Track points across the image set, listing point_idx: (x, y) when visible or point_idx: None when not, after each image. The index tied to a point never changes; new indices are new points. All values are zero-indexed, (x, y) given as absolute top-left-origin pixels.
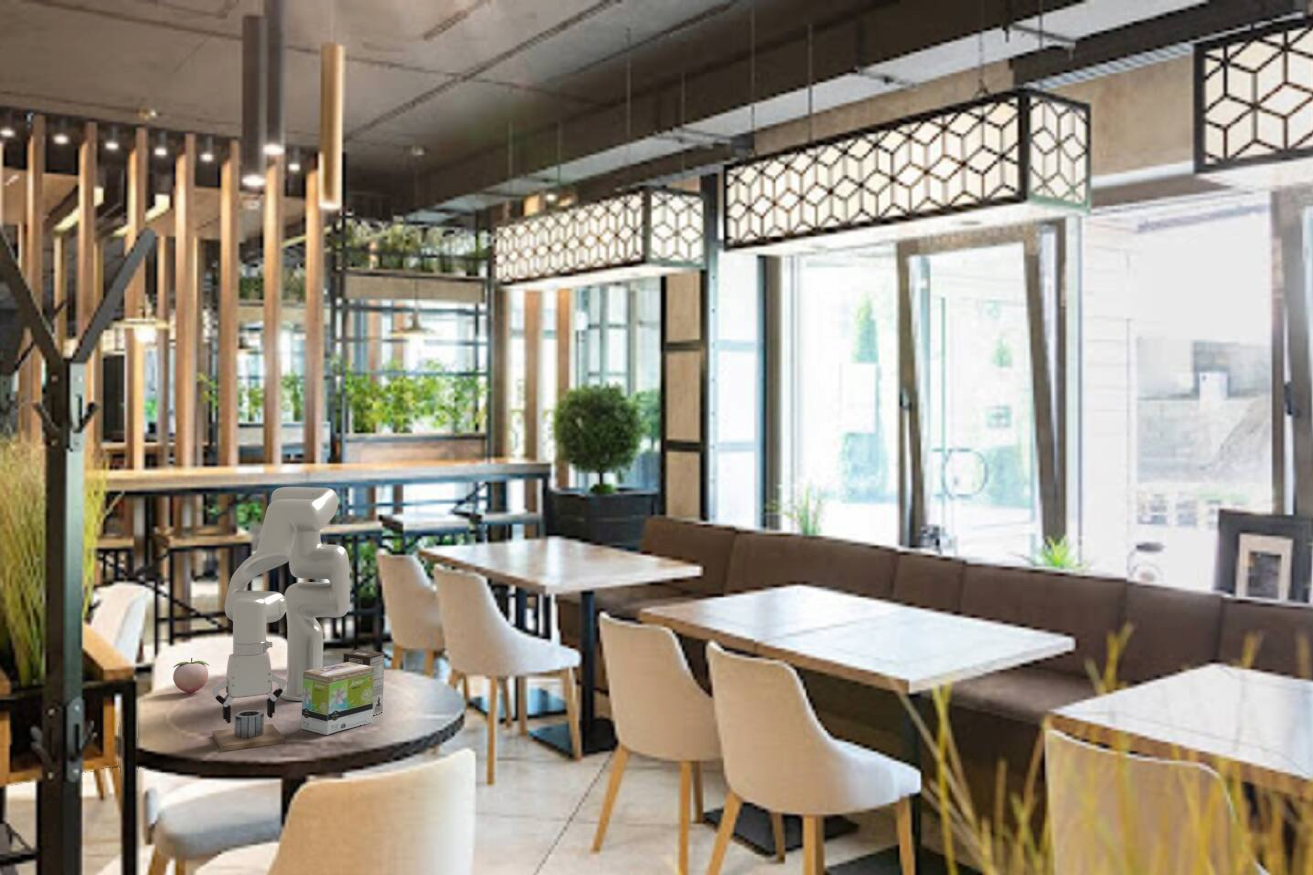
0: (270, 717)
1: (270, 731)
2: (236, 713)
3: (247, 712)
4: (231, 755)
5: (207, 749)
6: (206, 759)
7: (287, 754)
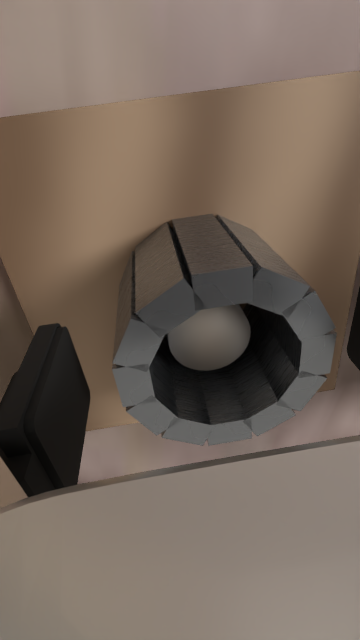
0: (351, 356)
1: (316, 269)
2: (126, 341)
3: (222, 301)
4: (115, 458)
5: (4, 382)
6: None
7: None
